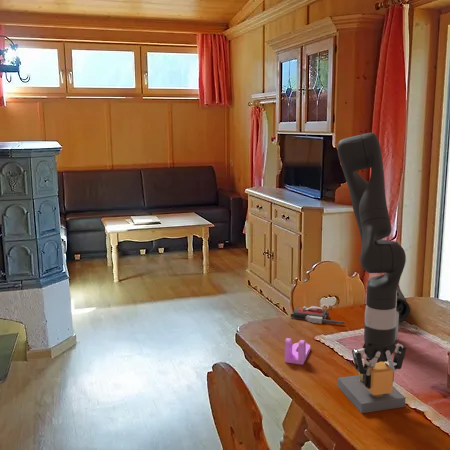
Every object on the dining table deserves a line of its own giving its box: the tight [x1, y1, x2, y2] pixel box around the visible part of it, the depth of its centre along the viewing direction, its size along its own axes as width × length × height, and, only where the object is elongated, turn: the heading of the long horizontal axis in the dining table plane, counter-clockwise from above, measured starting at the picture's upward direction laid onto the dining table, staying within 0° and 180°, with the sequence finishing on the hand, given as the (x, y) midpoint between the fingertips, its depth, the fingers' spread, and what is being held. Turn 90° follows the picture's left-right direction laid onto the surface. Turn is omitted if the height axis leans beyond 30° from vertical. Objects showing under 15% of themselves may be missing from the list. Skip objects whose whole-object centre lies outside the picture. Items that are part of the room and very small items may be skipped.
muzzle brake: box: [396, 284, 411, 323], centre depth 199 cm, size 10×28×10 cm, turn 172°
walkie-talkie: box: [290, 305, 346, 325], centre depth 193 cm, size 9×4×20 cm
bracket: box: [284, 337, 311, 365], centre depth 164 cm, size 13×6×7 cm, turn 159°
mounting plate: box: [337, 363, 407, 414], centre depth 139 cm, size 12×14×6 cm
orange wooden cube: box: [364, 362, 394, 395], centre depth 134 cm, size 5×5×6 cm
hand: (377, 385), depth 134 cm, fingers closed on orange wooden cube, 5 cm apart
